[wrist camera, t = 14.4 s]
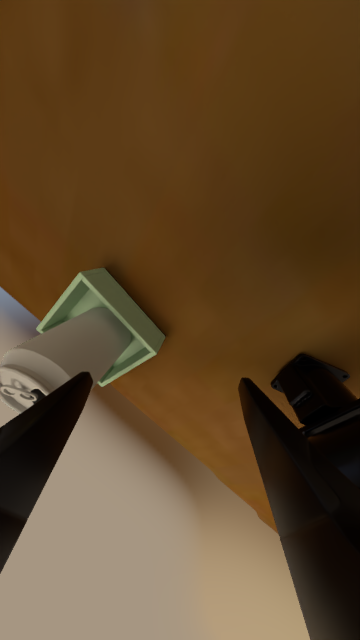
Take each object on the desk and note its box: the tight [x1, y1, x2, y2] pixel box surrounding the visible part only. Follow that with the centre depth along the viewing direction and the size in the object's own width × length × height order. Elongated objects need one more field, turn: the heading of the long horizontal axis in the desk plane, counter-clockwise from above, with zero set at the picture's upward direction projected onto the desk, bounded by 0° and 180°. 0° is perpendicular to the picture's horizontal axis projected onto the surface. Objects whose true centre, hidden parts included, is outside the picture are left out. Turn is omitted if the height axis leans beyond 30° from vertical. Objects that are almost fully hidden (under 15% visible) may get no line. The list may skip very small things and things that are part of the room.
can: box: [0, 307, 131, 414], centre depth 17 cm, size 8×8×12 cm
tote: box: [36, 268, 165, 387], centre depth 21 cm, size 12×12×4 cm
